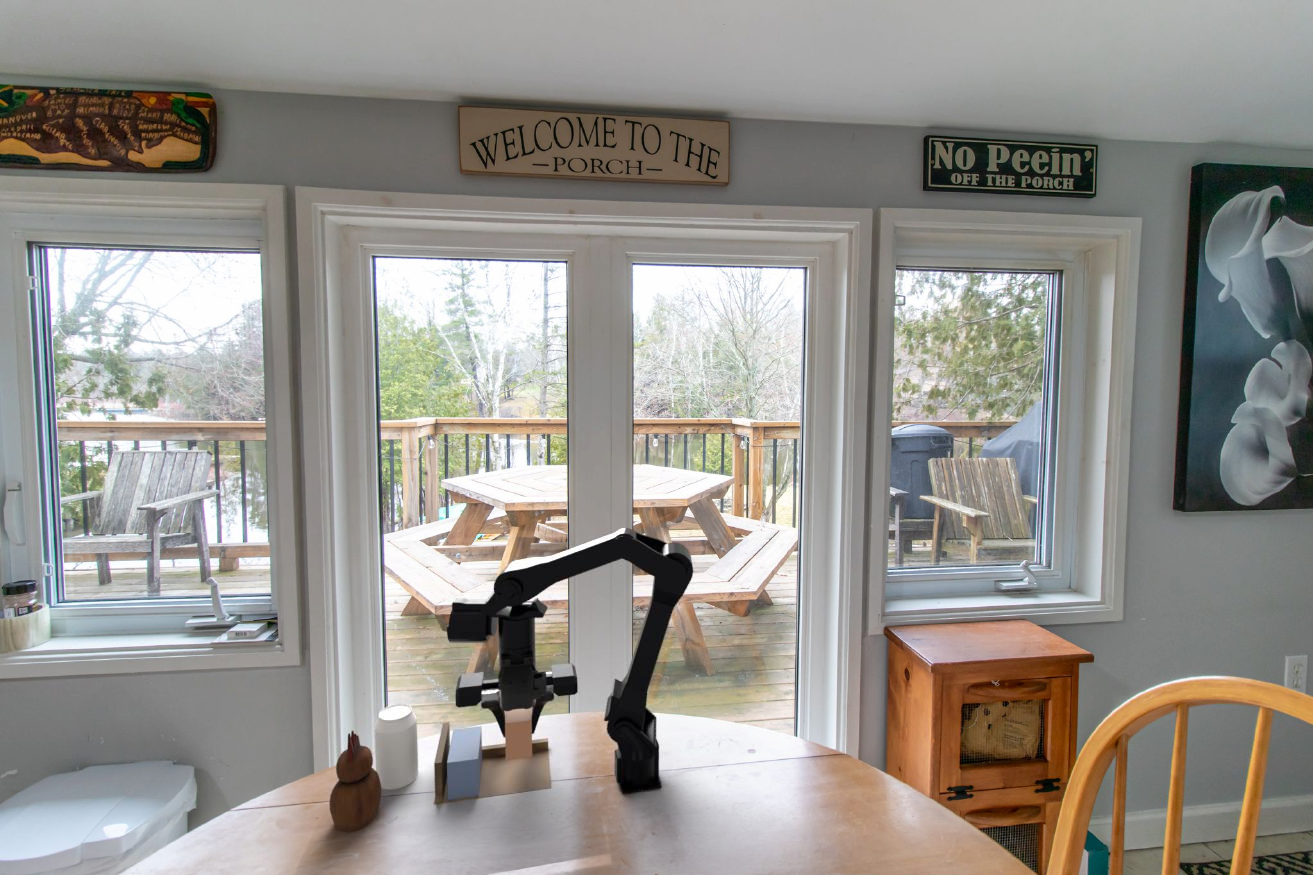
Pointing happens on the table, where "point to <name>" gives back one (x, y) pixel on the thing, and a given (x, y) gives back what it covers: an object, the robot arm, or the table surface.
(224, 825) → the table surface
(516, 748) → the light orange box
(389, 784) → the beverage can
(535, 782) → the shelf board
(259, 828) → the table surface
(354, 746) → the wooden figurine
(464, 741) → the pale blue box
